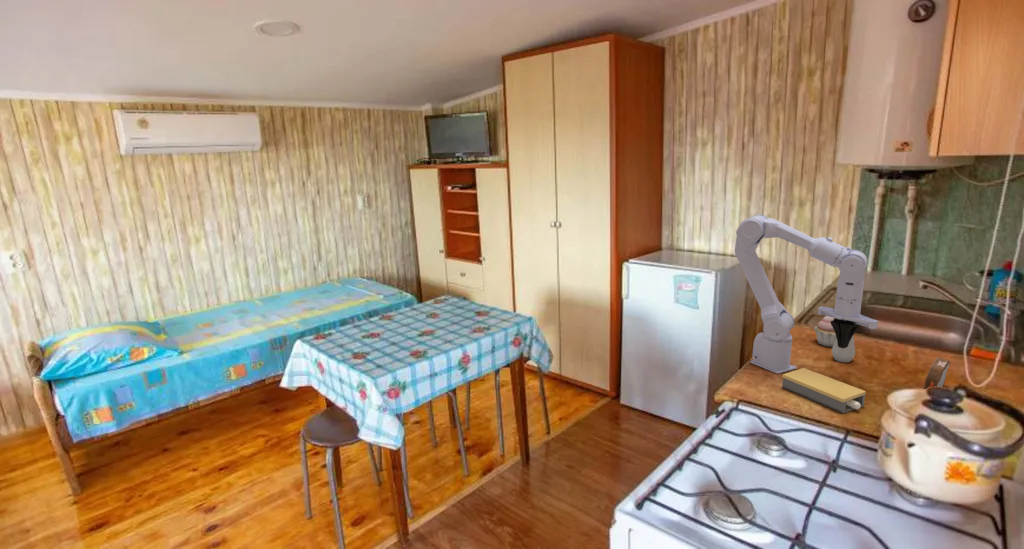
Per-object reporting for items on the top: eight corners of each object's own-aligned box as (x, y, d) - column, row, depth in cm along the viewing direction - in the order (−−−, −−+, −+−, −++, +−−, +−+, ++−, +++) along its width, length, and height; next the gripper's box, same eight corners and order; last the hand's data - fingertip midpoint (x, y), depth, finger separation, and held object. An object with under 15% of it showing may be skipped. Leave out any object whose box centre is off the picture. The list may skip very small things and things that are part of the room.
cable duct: (780, 386, 137) (781, 376, 136) (800, 380, 140) (802, 370, 140) (848, 416, 121) (850, 404, 121) (869, 408, 125) (871, 396, 124)
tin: (932, 382, 138) (937, 352, 136) (947, 385, 135) (952, 355, 133) (919, 401, 128) (924, 369, 126) (935, 405, 125) (941, 372, 124)
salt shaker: (847, 356, 156) (853, 314, 153) (858, 363, 150) (863, 321, 147) (827, 356, 156) (831, 314, 153) (836, 363, 151) (842, 320, 148)
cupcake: (850, 344, 165) (854, 313, 163) (840, 351, 159) (844, 320, 157) (818, 336, 172) (821, 307, 170) (807, 344, 166) (810, 314, 164)
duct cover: (782, 377, 136) (782, 374, 136) (803, 370, 139) (804, 367, 139) (843, 402, 122) (843, 399, 122) (865, 394, 125) (865, 391, 125)
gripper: (812, 293, 140) (807, 341, 143) (868, 306, 127) (861, 359, 130) (829, 289, 143) (824, 336, 146) (885, 302, 130) (878, 353, 133)
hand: (842, 347), depth 138 cm, fingers closed
